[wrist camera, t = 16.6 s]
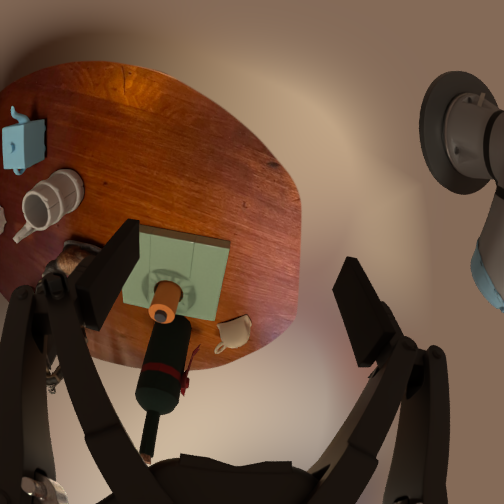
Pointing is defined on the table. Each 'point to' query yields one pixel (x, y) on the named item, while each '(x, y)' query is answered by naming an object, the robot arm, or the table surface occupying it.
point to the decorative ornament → (234, 333)
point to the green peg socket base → (179, 270)
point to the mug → (50, 201)
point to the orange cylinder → (165, 301)
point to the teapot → (23, 143)
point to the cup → (2, 219)
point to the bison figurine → (71, 256)
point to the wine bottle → (162, 377)
